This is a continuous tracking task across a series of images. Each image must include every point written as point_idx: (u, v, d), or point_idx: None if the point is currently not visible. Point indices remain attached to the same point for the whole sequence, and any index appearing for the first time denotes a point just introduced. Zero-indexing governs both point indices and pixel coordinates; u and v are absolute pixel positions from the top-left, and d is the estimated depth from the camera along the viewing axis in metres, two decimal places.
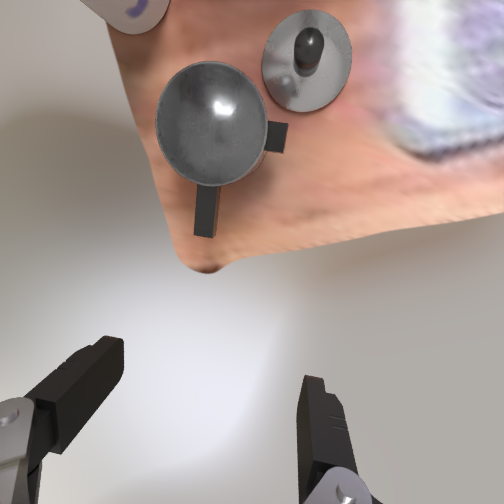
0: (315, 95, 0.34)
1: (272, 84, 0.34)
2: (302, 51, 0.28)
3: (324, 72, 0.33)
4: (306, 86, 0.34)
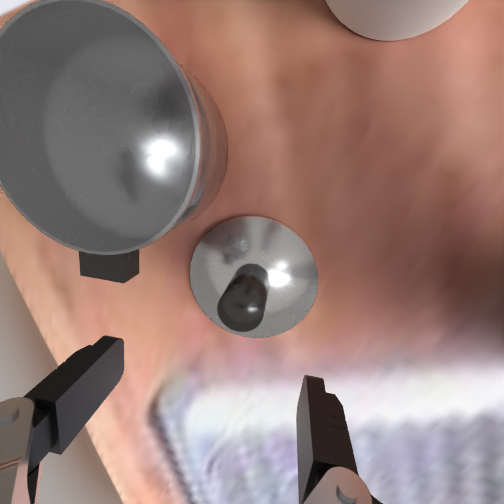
0: (210, 293, 0.23)
1: (224, 232, 0.22)
2: (231, 300, 0.18)
3: None
4: (221, 281, 0.23)
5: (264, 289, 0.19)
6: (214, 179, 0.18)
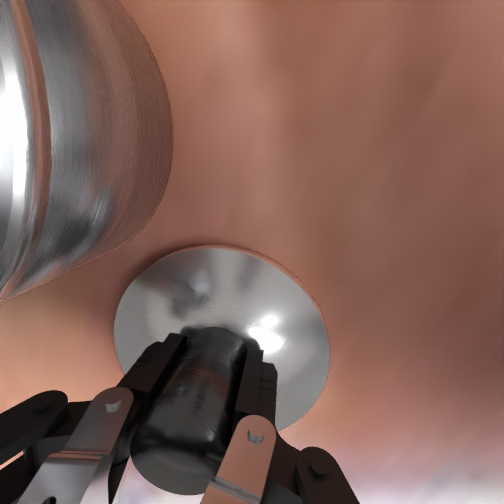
0: None
1: (166, 275, 0.12)
2: (158, 440, 0.08)
3: None
4: None
5: (232, 394, 0.10)
6: (136, 182, 0.09)
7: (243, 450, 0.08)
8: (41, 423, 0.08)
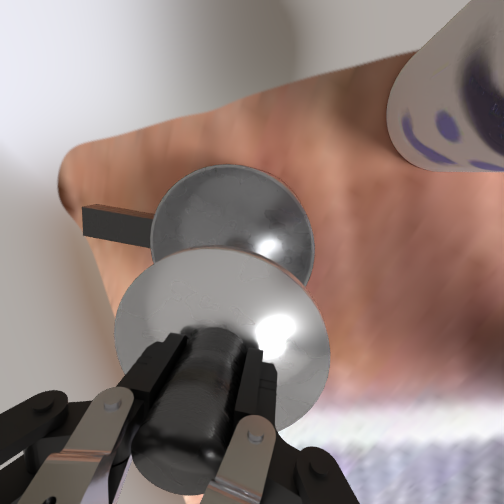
0: None
1: (167, 275, 0.12)
2: (159, 440, 0.08)
3: None
4: None
5: (233, 394, 0.10)
6: None
7: (243, 450, 0.08)
8: (41, 423, 0.08)
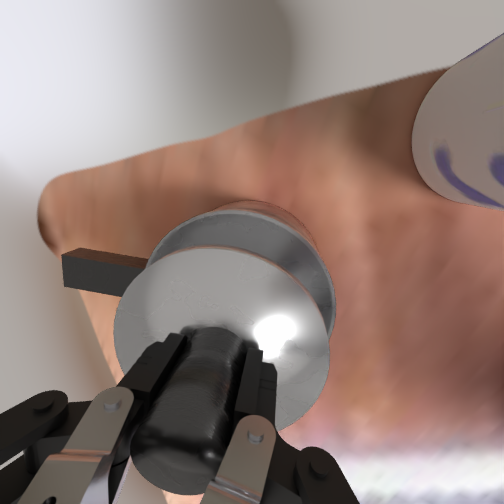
0: None
1: (166, 275, 0.12)
2: (158, 440, 0.08)
3: None
4: None
5: (232, 394, 0.10)
6: None
7: (243, 450, 0.08)
8: (41, 423, 0.08)
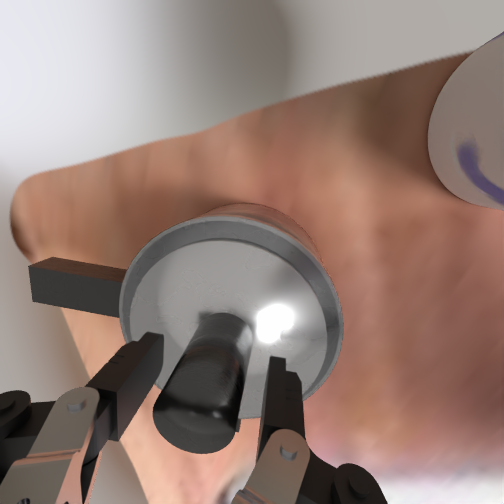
0: None
1: (179, 265, 0.14)
2: (178, 404, 0.10)
3: None
4: (179, 337, 0.15)
5: (240, 368, 0.11)
6: None
7: (278, 468, 0.07)
8: (0, 424, 0.08)
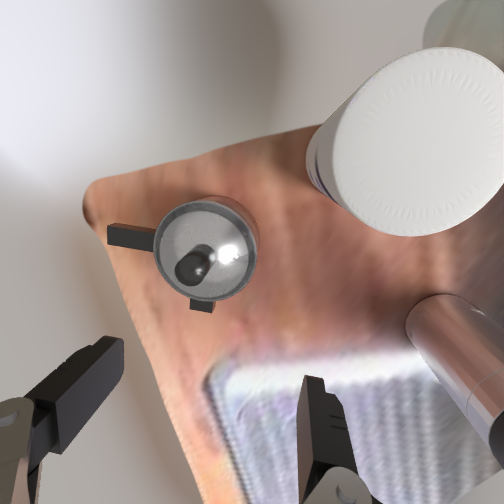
0: (174, 265, 0.33)
1: (183, 222, 0.31)
2: (183, 265, 0.27)
3: None
4: (182, 256, 0.32)
5: (207, 259, 0.29)
6: None
7: None
8: None
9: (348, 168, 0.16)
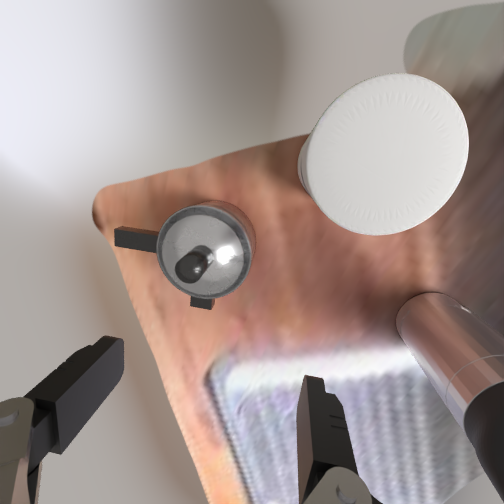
0: (175, 265, 0.35)
1: (183, 225, 0.34)
2: (183, 264, 0.30)
3: None
4: (182, 257, 0.35)
5: (205, 259, 0.32)
6: None
7: None
8: None
9: (320, 176, 0.19)
